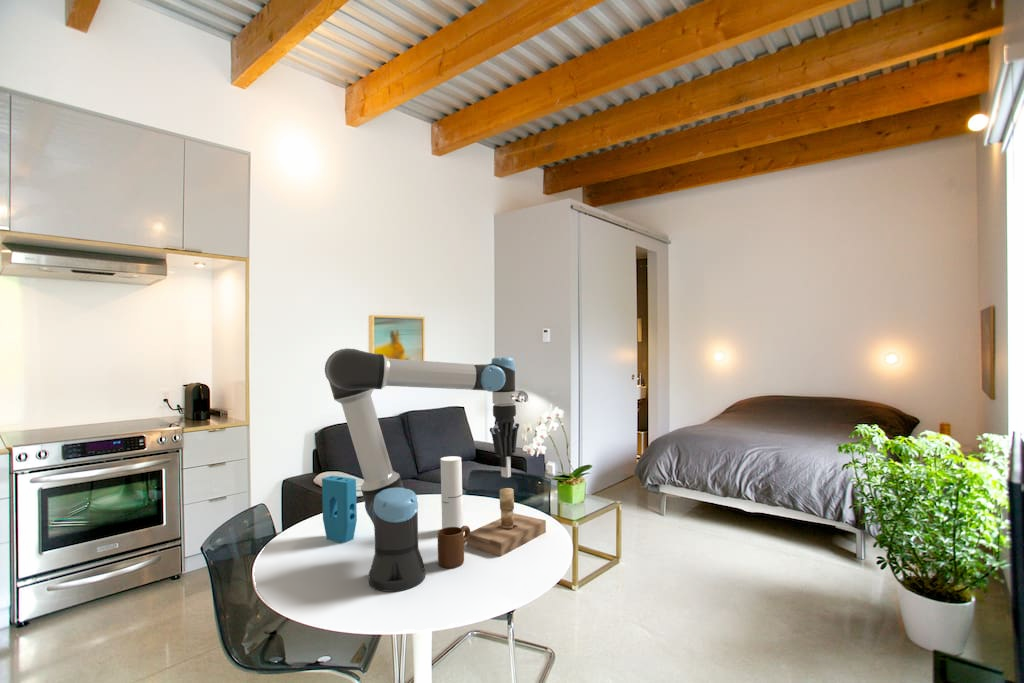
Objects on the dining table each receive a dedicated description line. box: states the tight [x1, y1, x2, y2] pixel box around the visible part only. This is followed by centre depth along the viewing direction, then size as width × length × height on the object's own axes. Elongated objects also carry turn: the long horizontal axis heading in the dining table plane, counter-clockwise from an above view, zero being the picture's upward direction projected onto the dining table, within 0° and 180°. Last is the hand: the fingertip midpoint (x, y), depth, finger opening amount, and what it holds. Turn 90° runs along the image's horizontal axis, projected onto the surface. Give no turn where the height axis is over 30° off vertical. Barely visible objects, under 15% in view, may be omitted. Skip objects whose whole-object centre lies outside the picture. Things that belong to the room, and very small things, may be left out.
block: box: [321, 475, 358, 544], centre depth 173 cm, size 12×5×20 cm, turn 59°
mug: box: [437, 525, 471, 569], centre depth 153 cm, size 12×8×9 cm, turn 143°
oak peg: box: [499, 487, 515, 531], centre depth 169 cm, size 5×5×16 cm
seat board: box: [466, 512, 547, 557], centre depth 169 cm, size 24×14×4 cm, turn 142°
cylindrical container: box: [440, 455, 464, 529], centre depth 177 cm, size 7×7×25 cm
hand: (506, 476), depth 169 cm, fingers closed
